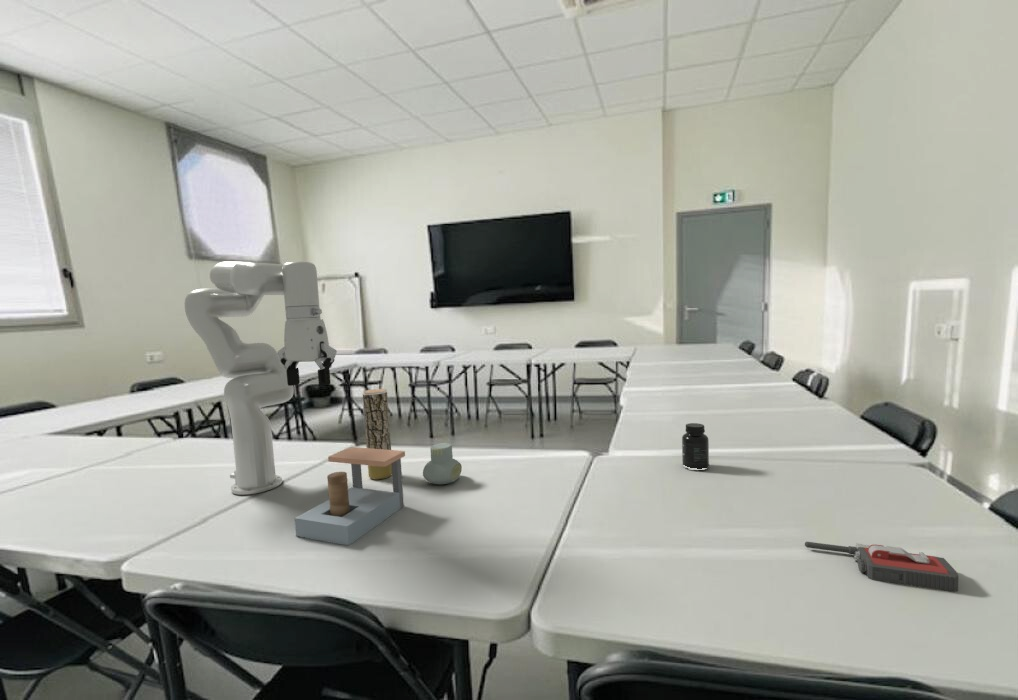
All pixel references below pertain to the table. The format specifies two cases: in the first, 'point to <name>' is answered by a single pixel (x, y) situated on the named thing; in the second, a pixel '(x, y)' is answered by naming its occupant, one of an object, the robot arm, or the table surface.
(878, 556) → the walkie-talkie
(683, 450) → the supplement bottle
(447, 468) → the air freshener
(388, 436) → the bark textured cylinder
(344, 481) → the peg
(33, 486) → the table surface
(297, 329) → the robot arm
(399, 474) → the socket deck
